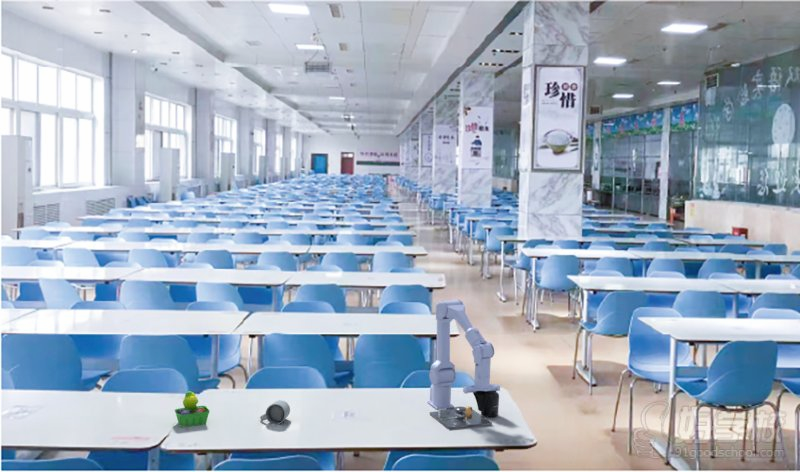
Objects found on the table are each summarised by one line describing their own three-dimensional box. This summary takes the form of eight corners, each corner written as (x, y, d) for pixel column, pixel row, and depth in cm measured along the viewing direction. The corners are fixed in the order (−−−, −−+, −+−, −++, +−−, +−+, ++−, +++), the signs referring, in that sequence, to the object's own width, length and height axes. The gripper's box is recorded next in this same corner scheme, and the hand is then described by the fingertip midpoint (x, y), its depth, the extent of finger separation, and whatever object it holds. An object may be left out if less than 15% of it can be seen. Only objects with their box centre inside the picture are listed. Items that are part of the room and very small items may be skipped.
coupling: (452, 410, 300) (452, 400, 300) (463, 409, 302) (464, 399, 302) (464, 419, 291) (464, 409, 290) (475, 418, 292) (476, 408, 292)
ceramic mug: (291, 418, 295) (291, 398, 294) (285, 425, 287) (285, 404, 286) (264, 416, 296) (263, 397, 295) (257, 423, 288) (257, 403, 287)
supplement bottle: (497, 419, 302) (498, 388, 301) (479, 417, 303) (481, 387, 302) (498, 413, 309) (500, 384, 307) (481, 411, 310) (482, 382, 309)
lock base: (429, 414, 304) (430, 404, 304) (471, 410, 311) (471, 401, 311) (448, 429, 288) (449, 419, 287) (492, 425, 294) (492, 415, 294)
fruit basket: (178, 428, 279) (178, 398, 278) (173, 421, 287) (173, 391, 286) (210, 425, 285) (210, 394, 284) (204, 417, 293) (204, 388, 291)
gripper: (469, 379, 287) (468, 415, 288) (504, 376, 292) (502, 411, 293) (461, 374, 293) (460, 409, 294) (495, 371, 298) (494, 406, 299)
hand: (480, 410), depth 294 cm, fingers closed
